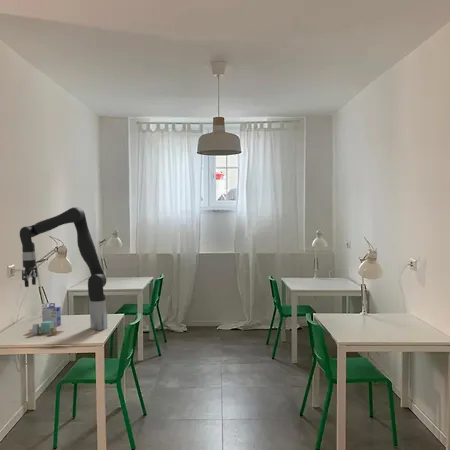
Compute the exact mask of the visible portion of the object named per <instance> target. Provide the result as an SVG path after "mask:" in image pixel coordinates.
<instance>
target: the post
mask: <svg viewBox="0 0 450 450" xmlns="http://www.w3.org/2000/svg"><path fill="white" fill-rule="evenodd" d="M32 331H33V335H39V331H40V324H39V323H34V324H32Z"/></svg>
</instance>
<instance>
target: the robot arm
mask: <svg viewBox="0 0 450 450" xmlns="http://www.w3.org/2000/svg"><path fill="white" fill-rule="evenodd" d="M71 223H72V224H73V225H74V227H75V230H76V237H77V238H76V239H77V247H78V251H79V254H80V256H81V258H82V259H83V261H84V263H86V265H87V267H88V270H89V272H90V276H89V277H88V279H87V280H88V281H87V292H88V293H87V294H88V298H89V317H90V319H89V322H90V324H89V326H90V330H94V331H101V330H102V331H104V330H105V329H106V330H107V328H108V311H107V307H106V306H107V305H106V301H107V300H106V294H104V287H105V286H106V284H107V277H106V275H105V273H104V270H103V268H102V266H101V263H100V259H99V256H98V253H97V250H96V246H95V244H94V240H93V238H92V235H91V233H90V229H89V227H88V221H87V218H86V213H85V211H84V210H83V209H82V208H81V207H76V206H75V207H71V208H68V209H67V210H65V211H64V212H62V213H60V214H57V215H55V216H53V217H49V218H46V219H44V220H41V221H38V222H36V223H35V224H33V225H27V226H23V227H21V228H20V230H19V239H20V242H21V245H22V247H21V249H22V255H21V256H22V257H21V258H22V267H23V268H24V269H23V270H22V269H21V280H22V281H24V287H25V288H29V285H30V284H29V280H30V278H31V285H33V286H35V285H36V284H37V277H38V267H37V261H36V259H37V258H36V251H35V250H36V248H35V245H36V244H35V243H34V242H33V240H32V238H35V237H36V236H38V235H40V234H44V233H46V232H47V233H48V232H49V231H50V232H51V230H54V229H56V228H58V227H60V226H63V225H67V224H71Z"/></svg>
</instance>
